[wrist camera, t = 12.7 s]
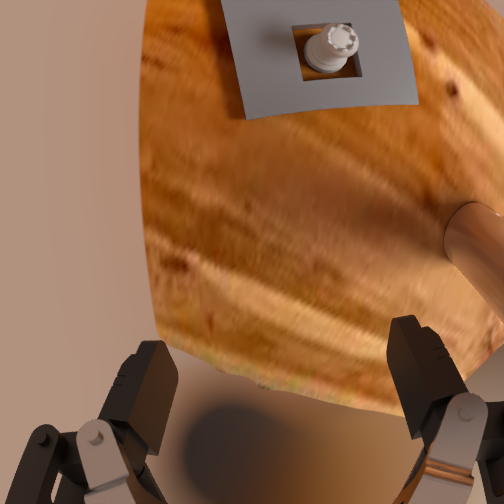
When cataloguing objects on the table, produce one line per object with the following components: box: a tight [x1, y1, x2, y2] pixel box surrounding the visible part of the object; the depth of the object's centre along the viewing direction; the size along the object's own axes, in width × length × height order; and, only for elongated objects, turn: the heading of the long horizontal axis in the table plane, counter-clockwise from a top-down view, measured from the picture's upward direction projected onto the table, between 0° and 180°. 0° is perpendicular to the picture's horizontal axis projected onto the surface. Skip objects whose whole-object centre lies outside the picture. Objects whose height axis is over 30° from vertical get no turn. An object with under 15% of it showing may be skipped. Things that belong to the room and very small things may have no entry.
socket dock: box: [221, 0, 419, 120], centre depth 23 cm, size 18×16×2 cm
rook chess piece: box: [303, 23, 359, 73], centre depth 21 cm, size 4×4×8 cm
